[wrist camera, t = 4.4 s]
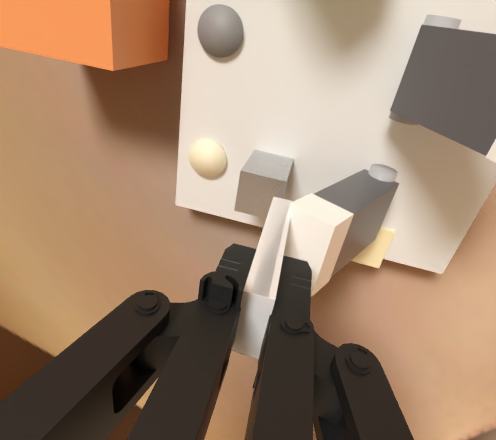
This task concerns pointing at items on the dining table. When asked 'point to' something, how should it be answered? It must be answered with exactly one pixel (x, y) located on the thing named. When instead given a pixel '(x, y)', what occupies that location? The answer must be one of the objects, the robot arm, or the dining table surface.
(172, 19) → the dining table surface
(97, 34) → the cap
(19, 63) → the dining table surface
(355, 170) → the panel
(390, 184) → the lever tagged
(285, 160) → the post
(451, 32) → the lever plain
